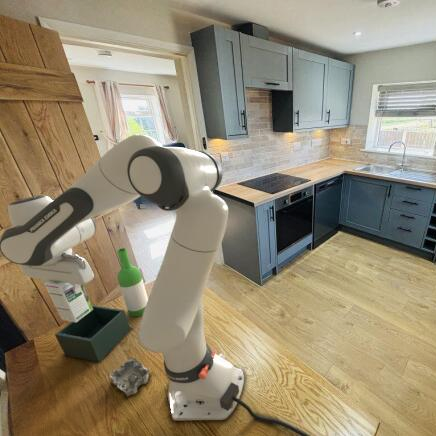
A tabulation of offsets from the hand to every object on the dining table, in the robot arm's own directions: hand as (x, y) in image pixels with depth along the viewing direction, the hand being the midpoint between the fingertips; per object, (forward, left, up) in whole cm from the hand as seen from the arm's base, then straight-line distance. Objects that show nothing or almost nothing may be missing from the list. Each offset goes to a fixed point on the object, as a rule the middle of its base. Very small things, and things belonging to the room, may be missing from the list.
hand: (67, 290), depth 73 cm
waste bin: (+2, -4, -27) cm, 27 cm away
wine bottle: (-1, -20, -27) cm, 34 cm away
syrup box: (0, 0, -10) cm, 10 cm away
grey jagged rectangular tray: (-20, +6, -27) cm, 34 cm away
